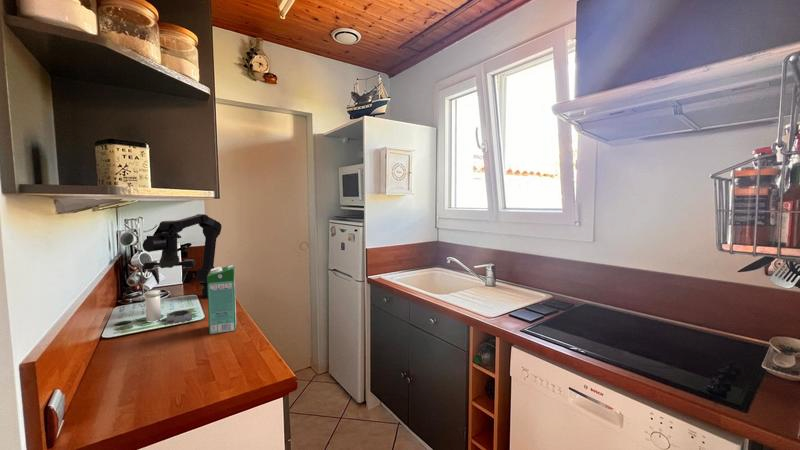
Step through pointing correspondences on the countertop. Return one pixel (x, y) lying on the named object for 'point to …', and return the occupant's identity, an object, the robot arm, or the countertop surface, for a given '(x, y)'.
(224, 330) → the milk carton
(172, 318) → the collar
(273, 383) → the countertop surface
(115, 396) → the countertop surface
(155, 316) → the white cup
